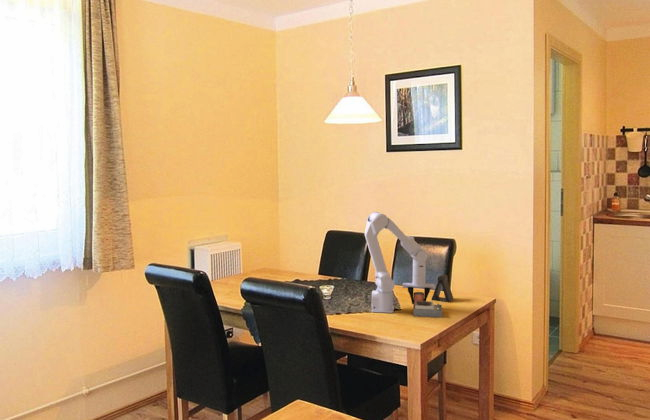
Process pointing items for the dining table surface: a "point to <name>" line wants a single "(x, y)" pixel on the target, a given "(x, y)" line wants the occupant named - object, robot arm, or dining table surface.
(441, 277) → the phone stand
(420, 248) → the robot arm
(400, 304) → the dining table surface
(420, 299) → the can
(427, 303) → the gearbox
